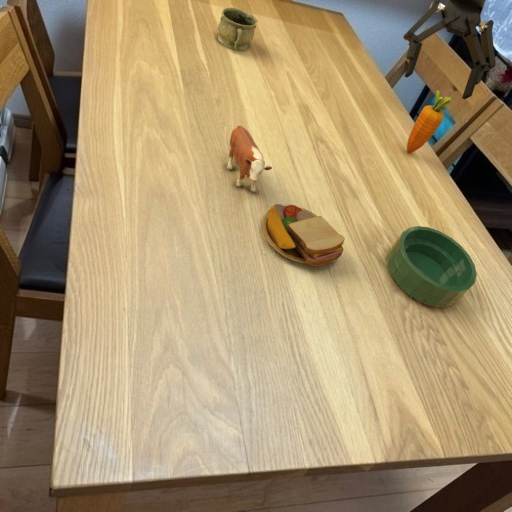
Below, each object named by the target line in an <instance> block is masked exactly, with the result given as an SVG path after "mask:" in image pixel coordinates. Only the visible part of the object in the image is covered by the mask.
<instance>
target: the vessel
mask: <svg viewBox="0 0 512 512" xmlns="http://www.w3.org/2000/svg"><path fill="white" fill-rule="evenodd" d="M257 24H258V19H257V18H256V17H255V16H254V15H253V14H251V13H250V12H248V11H246V10H244V9H240V8H236V7H225V8H223V9H222V11H221V15H220V21H219V23H218V25H217V30H218V32H219V33H218V36H217V39H218V41H219V42H220V43H221V44H222V45H223V46H225V47H226V48H229V49H231V50H233V51H244V50H247V49H248V48H249V43H250V42H251V41H252V40H253V39H254V36H255V29H256V28H257Z"/></svg>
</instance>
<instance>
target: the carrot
mask: <svg viewBox="0 0 512 512" xmlns="http://www.w3.org/2000/svg"><path fill="white" fill-rule="evenodd" d="M440 95H441V90H436V93H435V99H434V104H433V105H424V107H423V108H422V110H421V111H420V113H419V115H418V116H417V118H416V120H415V122H414V124H413V127H412V128H411V130H410V133H409V136H408V139H407V144H406V153H407V154H408V155H409V154H412V153H414V152H416V151H418V150H419V149H421V148H422V147H423V146H425V144H426V143H428V141H430V139H431V138H432V137H433V136H434V134H435V132H437V130H438V129H439V127H440V126H441V124H443V121H444V118H445V113H444V112H443V110H444V111H445V110H448V109H449V108H448V106H446V105H448V104H450V103H451V102H452V101H453V100H452V97H451V96H446V97H444V98H443V96H440Z"/></svg>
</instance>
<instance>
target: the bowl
mask: <svg viewBox="0 0 512 512" xmlns="http://www.w3.org/2000/svg"><path fill="white" fill-rule="evenodd" d="M386 266H387V268H388V271H389V273H390V276H391V277H392V279H393V280H394V282H395V283H396V284H397V285H398V287H399V288H400V289H401V290H402V291H404V292H405V293H406V294H407V295H408V296H410V297H411V298H412V299H414V300H416V301H418V302H420V303H421V304H423V305H428V306H430V307H434V308H447V307H450V306H453V305H455V304H456V303H458V301H459V300H460V299H461V298H462V297H463V296H464V295H465V294H466V293H467V292H468V291H469V290H470V289H471V288H472V287H473V286H474V285H475V284H476V280H477V276H478V274H477V268H476V264H475V262H474V261H473V259H472V257H471V255H470V254H469V253H468V252H467V250H465V248H464V247H463V246H462V245H461V244H460V243H459V242H458V241H456V240H455V239H453V237H451V236H449V235H448V234H446V233H444V232H442V231H440V230H438V229H436V228H432V227H429V226H421V225H417V226H411V227H408V228H406V229H405V230H404V231H402V232H401V234H400V235H399V236H398V238H397V239H396V241H395V242H394V244H392V246H391V248H390V249H389V251H388V254H387V256H386Z"/></svg>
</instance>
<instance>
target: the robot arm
mask: <svg viewBox="0 0 512 512" xmlns="http://www.w3.org/2000/svg"><path fill="white" fill-rule="evenodd" d="M485 4H486V0H446V1H445V4H443V3H441V0H433V1H432V2H431V3H430V4H429V6H428V8H427V10H426V12H425V13H424V14H423V15H422V16H421V17H420V18H419V19H418V20H417V21H416V22H415V23H414V24H413V26H412V27H410V29H408V31H406V32H405V33H404V35H403V36H402V37H403V40H405V41H407V42H408V50H407V52H406V56H405V59H406V60H408V63H407V67H406V70H405V72H404V75H403V76H404V77H405V78H409V77H411V75H413V74H414V71H415V68H416V65H417V63H418V59H419V56H420V53H421V50H422V47H423V43H422V41H424V40H426V39H427V38H430V37H431V36H432V35H434V34H435V33H438V32H440V31H442V30H444V28H445V30H446V32H447V33H450V34H454V35H455V36H456V37H462V39H463V41H464V42H465V44H466V46H467V50H468V51H469V52H468V53H469V54H470V57H471V61H472V63H473V65H474V67H472V69H471V70H470V73H469V76H468V79H467V82H466V85H465V88H464V90H463V93H462V97H461V99H462V100H467V99H469V98H470V97H472V96H473V93H474V91H475V88H476V86H477V85H478V84H480V83H481V82H482V79H483V75H484V73H485V72H488V71H490V70H492V69H494V68H495V67H496V66H497V64H496V55H495V54H496V53H495V45H494V38H493V29H494V24H495V22H494V20H493V19H488V20H483V19H482V17H481V14H482V12H483V10H484V7H485ZM439 12H440V15H441V19H442V20H440V21H438V22H437V23H435V24H434V25H432V26H431V27H429V28H427V29H425V30H424V31H422V32H421V33H419V34H418V35H417V34H415V33H416V32H417V31H418V30H419V29H420V28H421V27H422V26H423V25H424V24H425V23H426V22H427V21H428V20H429V19H430V18H431V17H432V16H433V15H436V14H438V13H439ZM477 28H478V29H479V30H477ZM478 32H479V33H480V35H479V36H480V38H479V37H478V34H479V33H478ZM479 39H480V40H479Z"/></svg>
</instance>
